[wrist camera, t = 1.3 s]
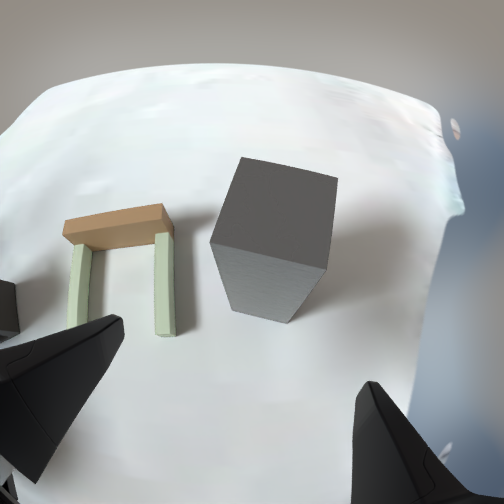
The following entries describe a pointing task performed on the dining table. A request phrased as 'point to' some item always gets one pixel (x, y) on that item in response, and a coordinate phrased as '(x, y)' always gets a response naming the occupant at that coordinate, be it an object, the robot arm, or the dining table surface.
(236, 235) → the block
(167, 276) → the keeper
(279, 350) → the dining table surface
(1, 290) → the phone stand
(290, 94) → the dining table surface
